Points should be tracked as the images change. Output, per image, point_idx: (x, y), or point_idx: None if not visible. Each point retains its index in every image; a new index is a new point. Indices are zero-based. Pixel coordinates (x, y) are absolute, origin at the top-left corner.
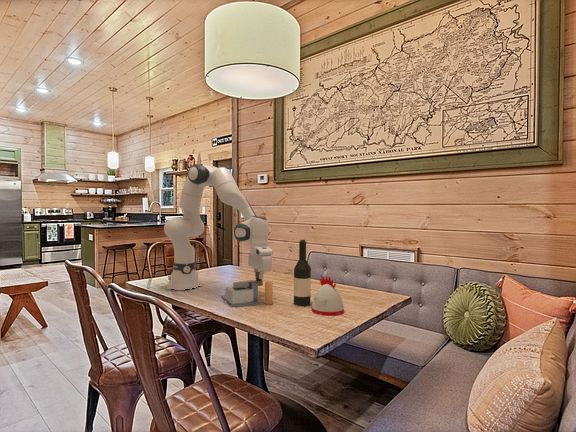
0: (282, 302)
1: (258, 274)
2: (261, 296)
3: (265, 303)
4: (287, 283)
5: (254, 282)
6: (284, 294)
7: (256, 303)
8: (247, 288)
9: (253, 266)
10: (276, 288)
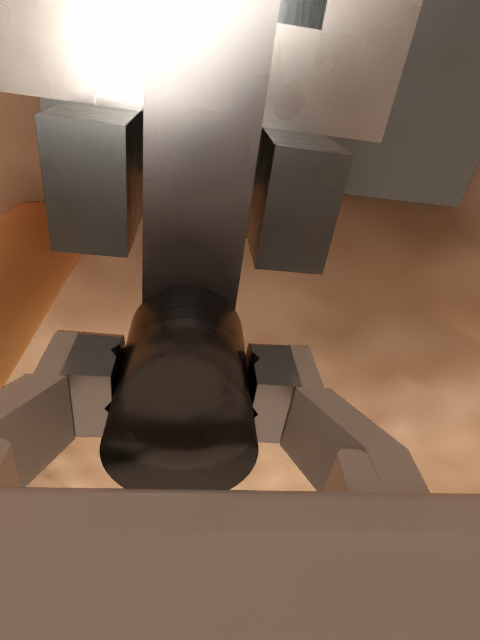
0: (43, 352)
1: (121, 390)
2: (319, 308)
3: (28, 204)
4: None
5: (103, 206)
6: (259, 456)
7: (45, 108)
8: (115, 24)
9: (385, 527)
10: (433, 481)
